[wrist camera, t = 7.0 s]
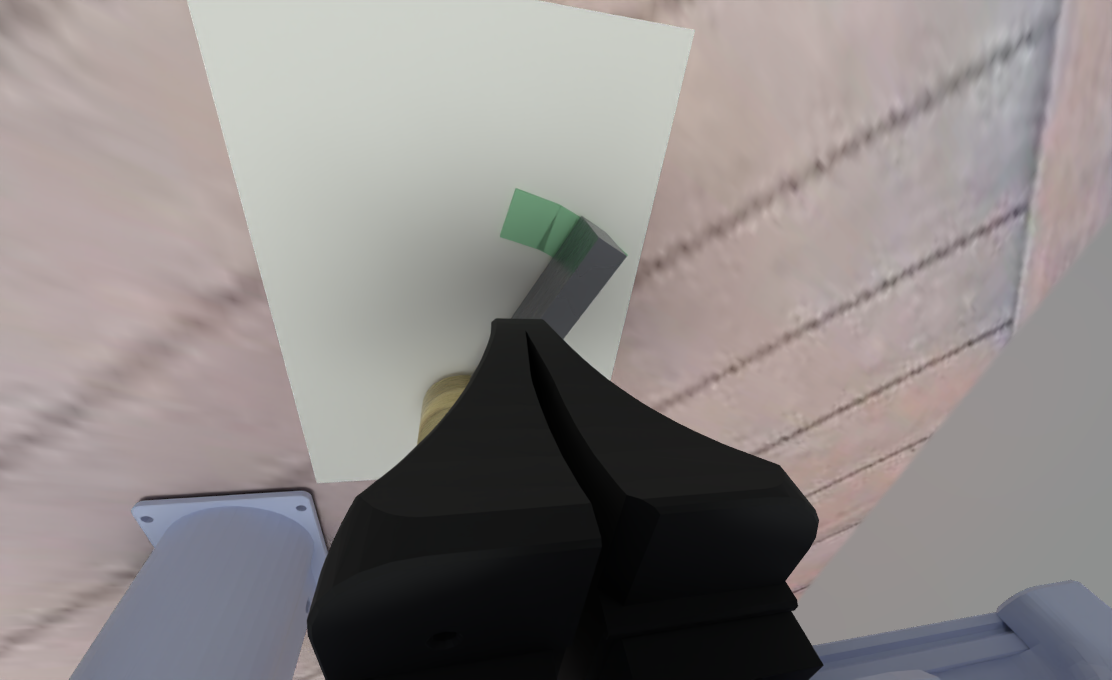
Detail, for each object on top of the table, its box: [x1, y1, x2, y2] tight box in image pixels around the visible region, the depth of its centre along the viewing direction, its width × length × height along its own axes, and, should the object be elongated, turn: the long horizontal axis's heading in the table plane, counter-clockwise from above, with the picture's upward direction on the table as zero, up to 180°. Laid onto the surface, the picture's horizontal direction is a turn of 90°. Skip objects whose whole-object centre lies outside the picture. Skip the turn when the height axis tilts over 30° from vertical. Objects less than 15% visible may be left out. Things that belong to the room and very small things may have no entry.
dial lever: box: [417, 216, 627, 445], centre depth 16 cm, size 12×4×3 cm, turn 145°
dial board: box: [187, 0, 695, 483], centre depth 17 cm, size 20×14×2 cm
